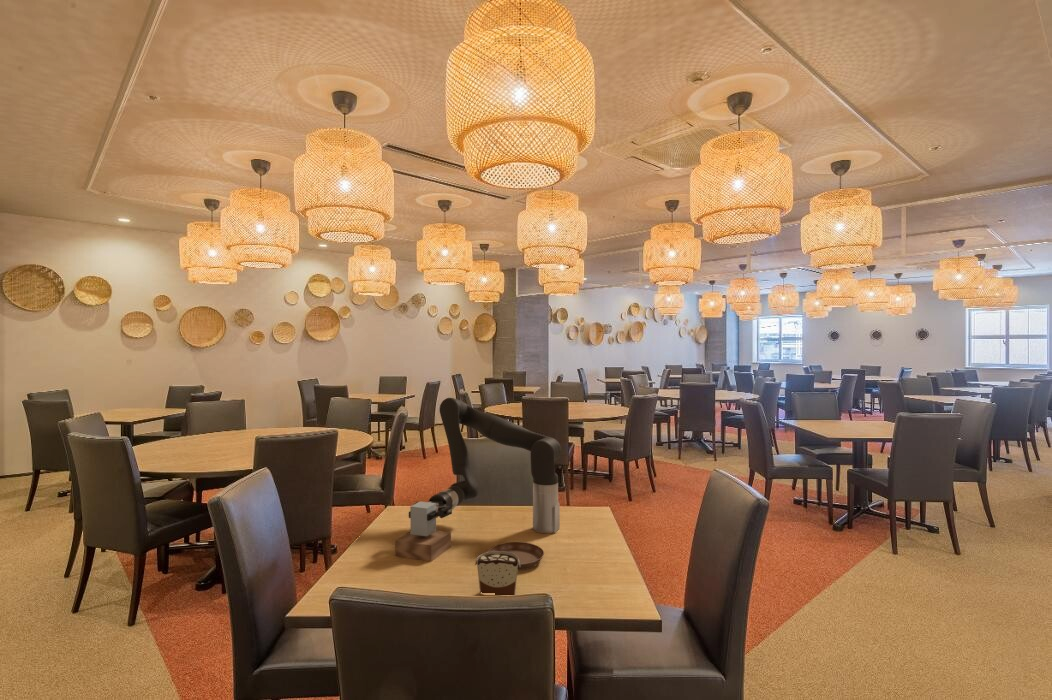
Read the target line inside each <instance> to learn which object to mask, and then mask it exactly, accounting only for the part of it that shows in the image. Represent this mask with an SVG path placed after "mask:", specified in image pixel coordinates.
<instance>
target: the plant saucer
mask: <svg viewBox="0 0 1052 700" xmlns="http://www.w3.org/2000/svg"><path fill="white" fill-rule="evenodd" d="M491 551H506V552H510V553H513V554H515V555H517V556H518V559H519V561H520V566H519V563H518V571H523V570H527V569H531V567H532V568H533V567H535V566H537V565H538V564H539V563H540V562H541V561H542V559H543V557H544V556H545V551H544V549H543V547H540V546H539V545H537V544H534V543H530V542H523V541H509V542H503V543H499V544H496V545H493V546H492V547H491V548H489V549H488V551H487V552H491Z"/></svg>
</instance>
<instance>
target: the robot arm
mask: <svg viewBox="0 0 1052 700" xmlns="http://www.w3.org/2000/svg"><path fill="white" fill-rule="evenodd" d="M439 415H440V419H441V421H442V424H443V429H444V431H445V436H446V440H447V444H448V448H449V449H448V450H449V454H450V462H451V469H452V475H454V476H462V477H463V479H464V480H461V481H457V482H454V483H452V484H450V486H449V487H448V488H446V489H443V490H440V491H439V492H437V493H436V494H433V495H432V496H431V497H430V498H429V499H428V501H427V502H430V503H436V509H434V511H432V512H430V513H428V514H427V521H430V520H432V519H433V518H436V519H438V517H439V518H440V519H444V518H446V517H447V516H450V515H452V514H453V510H454V509H455V508H456V507H458V506H459V505H461V504H462V503H463V501H465V500H466V501H467V500H471V499H475V498H476V497H477V496H478V494H479V484H478V481H477V480H476V477H475V476H474V473H473V471H472V467H471V461H470V454H469V449H468V447H467V444H466V443H465V440H464V437H463V435H462V431H461V427H460V426H461V425H463V426H465V427H467V428H468V427H469V428H472V429H473V430H475V431H476V432H477V433H479V434H480V435H482V436H483V437H486V438H487V439H488V440H491V441H493V442H495V443H498V444H500V445H504V446H508V447H514V448H519V449H524V450H527V451H529V452H530V473H531V477H532V530H533V531H534V532H537V533H542V534H550V533H551V534H552V533H554V534H555V533H556V532H557V531H559V529H560V528H561V527H560V525H561V523H560V522H561V519H560V517H561V515H560V514H561V512H560V508H561V507H560V504H561V503H560V502H559V476H558V474H557V473H556V471H555V462H556V461H557V460H558V459H559V458H560V457H561V455H562V450H563V449H562V446H561V444H560V443H559V441H558V440H557V439H556V438H553V437H551V436H548V435H547V436H546V435H544V434H541V433H537V432H534V431H532V430H529V429H527V428H525V427H522V426H520V425H518V424H516V423H513V422H512V421H509V420H508V419H506V418H502V417H500V416H497V415H494V414H491V413H487V412H483V411H480V410H478V409H476V408H474V407H472V406H470V405H469V404H467V403H465V402H464V401H463V400H460V399H457V398H455V397H446V398H444V399H443V400H442V401H441V402H440V404H439ZM418 502H419V501H416V502H414V503H413V504H412V505H414V504H416V503H418ZM412 505H411V506H412ZM411 506H410V507H409V509H410V511H408V518H409V519H411Z"/></svg>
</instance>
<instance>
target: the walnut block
mask: <svg viewBox="0 0 1052 700" xmlns="http://www.w3.org/2000/svg"><path fill="white" fill-rule="evenodd" d="M394 543H395V544H394V545H395V546H394V547H395V553H394V557H399V558H406V559H412V560H419V561H425V562H426V561H427V562H433V561H434V560H436V559H437V558H438V557H439V556H440V555H442V554H444V553H445V552H446V551H447V550H449V549H450V548H451V547H452V531H445V530H437V529H436V531H434V532H433V533H431V534H430V535H428V536H420V535H413V534H410V531H409V532H407V533H405V534H404V535H402V536H400V537H399V538H397V539H396V540H395V542H394Z"/></svg>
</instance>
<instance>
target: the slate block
mask: <svg viewBox="0 0 1052 700" xmlns="http://www.w3.org/2000/svg"><path fill="white" fill-rule="evenodd" d="M417 502H418V503H416V502H415V503H416V504H415V503H413V504H414V505H413V504H411V518H410V531H409V532H410V534H413V535H420V536H428V535H430V534H431V533H433V532H434V531H436V530H437V518H433V519H432V520H430V521H427V514H428V513H430V512H432V511H434V509H436V503H430V502H428V501H417Z"/></svg>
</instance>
